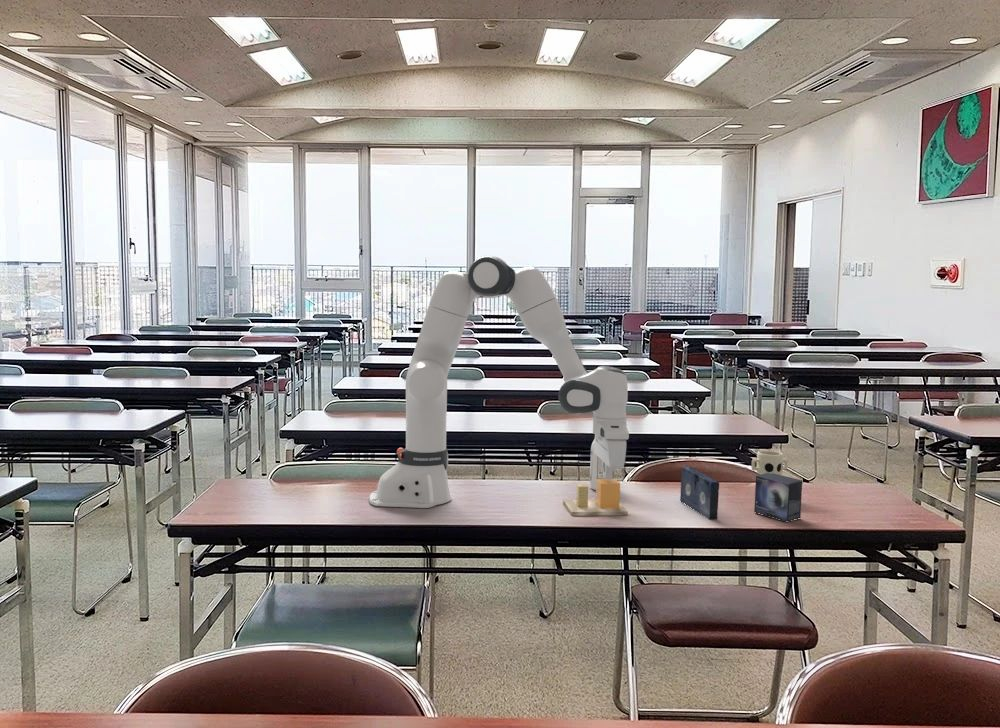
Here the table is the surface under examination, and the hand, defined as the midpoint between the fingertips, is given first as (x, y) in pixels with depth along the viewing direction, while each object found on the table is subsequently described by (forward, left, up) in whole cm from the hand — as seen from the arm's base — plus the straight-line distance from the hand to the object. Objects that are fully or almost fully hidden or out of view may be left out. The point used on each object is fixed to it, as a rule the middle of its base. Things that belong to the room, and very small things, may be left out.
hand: (607, 478), depth 228 cm
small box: (+44, -9, -9) cm, 46 cm away
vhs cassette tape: (+25, -2, -9) cm, 26 cm away
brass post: (-7, 0, -8) cm, 11 cm away
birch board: (-3, 0, -8) cm, 9 cm away
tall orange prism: (0, 0, -7) cm, 7 cm away
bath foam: (+4, +22, -9) cm, 24 cm away
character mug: (+50, +10, -9) cm, 52 cm away
